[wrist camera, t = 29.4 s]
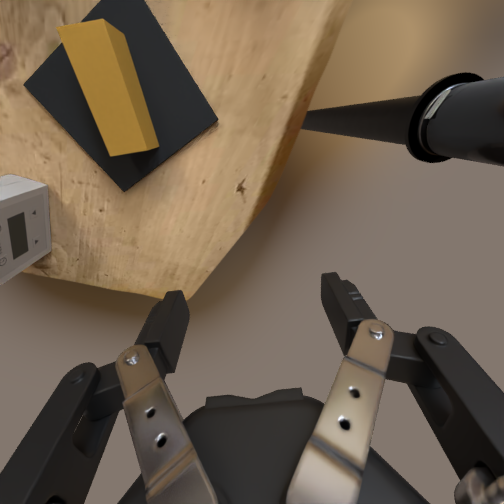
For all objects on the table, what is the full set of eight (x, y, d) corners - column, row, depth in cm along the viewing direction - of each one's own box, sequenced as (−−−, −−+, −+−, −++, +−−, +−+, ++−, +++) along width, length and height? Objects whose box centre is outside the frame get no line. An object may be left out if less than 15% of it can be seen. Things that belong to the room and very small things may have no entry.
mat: (128, -25, 25) (126, -28, 24) (218, 119, 32) (217, 119, 31) (26, 85, 29) (22, 84, 29) (125, 191, 36) (123, 192, 36)
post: (159, 146, 33) (124, 34, 27) (147, 150, 29) (102, 18, 23) (126, 151, 33) (84, 41, 27) (110, 156, 29) (55, 27, 23)
